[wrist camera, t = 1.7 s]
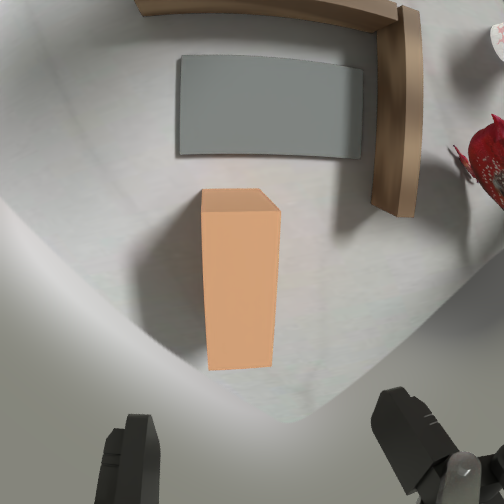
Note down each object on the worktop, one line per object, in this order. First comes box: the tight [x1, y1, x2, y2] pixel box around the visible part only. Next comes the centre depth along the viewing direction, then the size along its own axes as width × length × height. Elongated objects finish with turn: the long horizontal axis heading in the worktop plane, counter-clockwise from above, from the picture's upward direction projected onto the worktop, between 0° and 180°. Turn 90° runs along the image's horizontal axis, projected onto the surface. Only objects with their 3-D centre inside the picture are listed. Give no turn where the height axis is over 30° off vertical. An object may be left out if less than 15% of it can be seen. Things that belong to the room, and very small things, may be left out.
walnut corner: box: [134, 0, 423, 218], centre depth 19 cm, size 16×19×4 cm
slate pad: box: [180, 55, 363, 159], centre depth 21 cm, size 7×13×1 cm, turn 89°
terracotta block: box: [201, 189, 281, 370], centre depth 21 cm, size 10×4×7 cm, turn 179°
